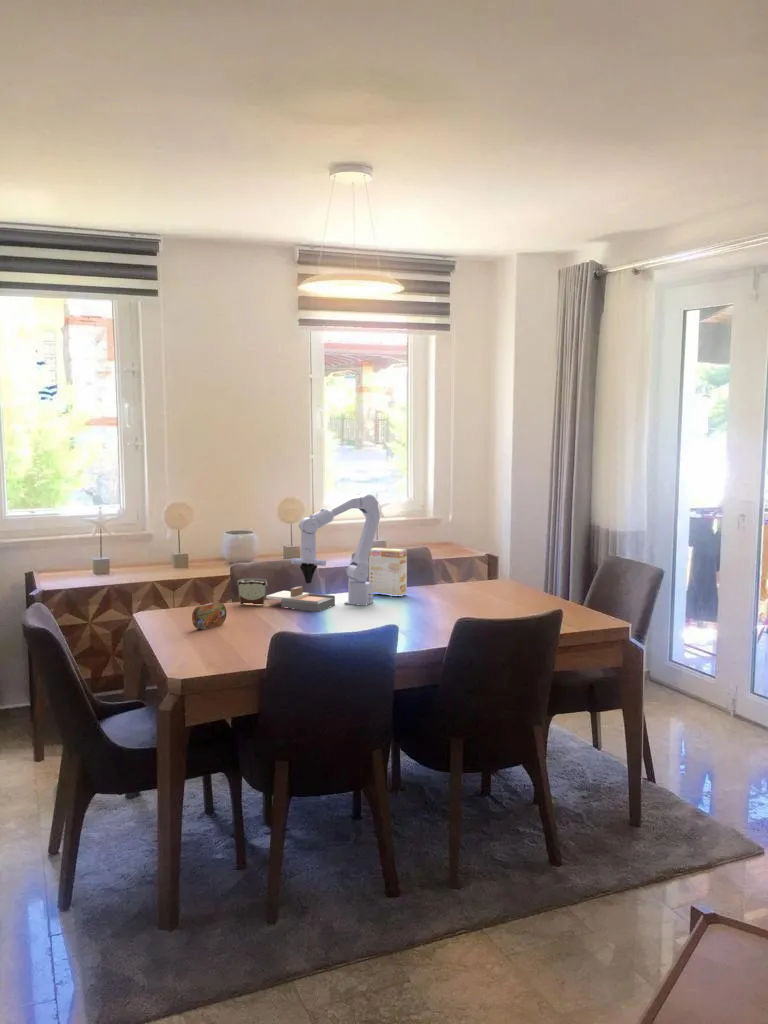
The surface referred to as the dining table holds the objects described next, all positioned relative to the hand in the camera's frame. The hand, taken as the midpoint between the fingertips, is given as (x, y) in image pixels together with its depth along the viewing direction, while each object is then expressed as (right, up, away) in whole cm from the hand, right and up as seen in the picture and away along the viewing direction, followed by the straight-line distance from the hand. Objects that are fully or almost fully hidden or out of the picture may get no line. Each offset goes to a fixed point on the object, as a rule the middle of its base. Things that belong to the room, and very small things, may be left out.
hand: (308, 582), depth 339 cm
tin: (-32, -13, -37) cm, 50 cm away
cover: (-9, -6, +4) cm, 11 cm away
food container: (-22, -9, +5) cm, 25 cm away
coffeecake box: (+31, -7, +28) cm, 42 cm away
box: (0, -9, 0) cm, 9 cm away
